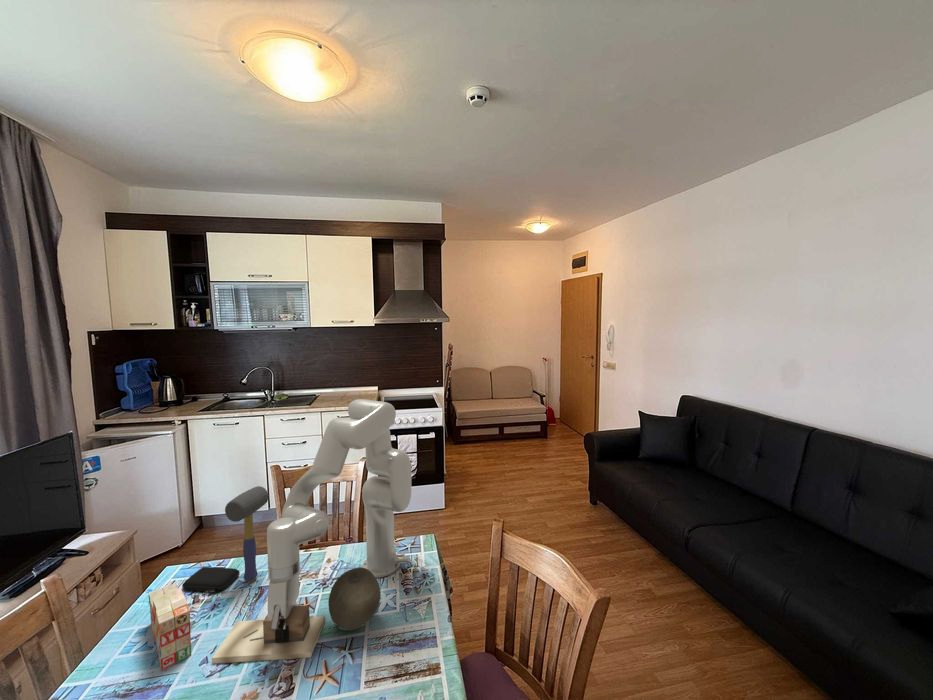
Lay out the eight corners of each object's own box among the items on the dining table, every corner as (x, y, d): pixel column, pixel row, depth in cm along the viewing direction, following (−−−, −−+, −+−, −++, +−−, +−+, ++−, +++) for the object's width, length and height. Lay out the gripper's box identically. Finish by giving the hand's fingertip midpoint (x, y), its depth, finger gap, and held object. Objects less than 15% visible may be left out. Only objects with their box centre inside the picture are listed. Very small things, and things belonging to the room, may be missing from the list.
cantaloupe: (324, 649, 99) (322, 593, 98) (334, 609, 113) (332, 560, 112) (379, 641, 101) (378, 587, 100) (382, 603, 115) (381, 555, 114)
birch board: (325, 621, 108) (324, 616, 108) (310, 657, 96) (310, 651, 96) (237, 626, 107) (237, 621, 107) (212, 663, 95) (211, 657, 95)
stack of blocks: (150, 624, 108) (147, 582, 107) (177, 612, 112) (175, 572, 112) (161, 671, 93) (158, 623, 92) (192, 655, 97) (190, 609, 97)
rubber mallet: (247, 594, 120) (243, 501, 118) (226, 592, 121) (221, 499, 119) (273, 569, 132) (270, 485, 130) (254, 567, 133) (250, 483, 131)
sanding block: (309, 626, 105) (309, 605, 104) (303, 641, 100) (302, 619, 99) (272, 628, 104) (271, 607, 104) (263, 643, 99) (263, 621, 99)
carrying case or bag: (176, 594, 121) (219, 597, 119) (175, 585, 120) (218, 588, 119) (202, 573, 131) (242, 575, 130) (202, 564, 131) (242, 566, 129)
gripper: (282, 549, 109) (284, 610, 110) (254, 590, 92) (256, 661, 93) (309, 548, 110) (311, 608, 111) (286, 588, 93) (288, 659, 94)
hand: (286, 632), depth 102 cm, fingers closed on sanding block, 5 cm apart
